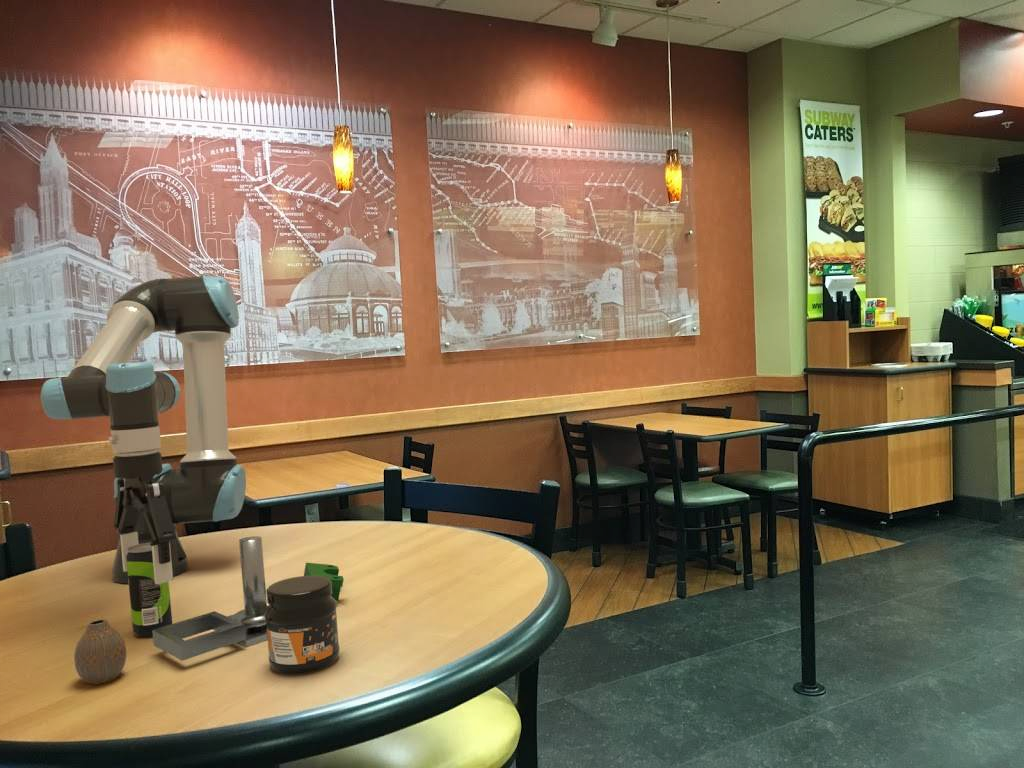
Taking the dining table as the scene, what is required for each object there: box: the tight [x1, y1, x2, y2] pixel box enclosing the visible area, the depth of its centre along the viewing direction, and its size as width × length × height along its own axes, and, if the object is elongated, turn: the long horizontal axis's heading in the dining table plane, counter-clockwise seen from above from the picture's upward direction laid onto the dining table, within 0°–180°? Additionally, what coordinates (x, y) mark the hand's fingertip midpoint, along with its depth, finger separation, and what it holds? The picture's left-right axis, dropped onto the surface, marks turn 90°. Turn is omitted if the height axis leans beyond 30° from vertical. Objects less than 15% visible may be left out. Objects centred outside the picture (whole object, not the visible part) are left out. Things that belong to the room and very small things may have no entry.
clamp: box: [303, 562, 344, 602], centre depth 153 cm, size 12×6×9 cm, turn 14°
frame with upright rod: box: [152, 535, 268, 662], centre depth 133 cm, size 10×20×16 cm, turn 136°
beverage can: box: [126, 543, 173, 638], centre depth 140 cm, size 6×6×15 cm
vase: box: [73, 618, 127, 685], centre depth 121 cm, size 7×7×9 cm
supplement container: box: [265, 575, 340, 675], centre depth 123 cm, size 10×10×12 cm
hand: (147, 575), depth 140 cm, fingers open, 13 cm apart
